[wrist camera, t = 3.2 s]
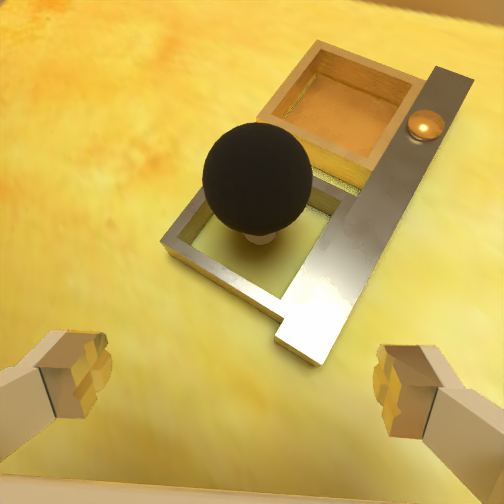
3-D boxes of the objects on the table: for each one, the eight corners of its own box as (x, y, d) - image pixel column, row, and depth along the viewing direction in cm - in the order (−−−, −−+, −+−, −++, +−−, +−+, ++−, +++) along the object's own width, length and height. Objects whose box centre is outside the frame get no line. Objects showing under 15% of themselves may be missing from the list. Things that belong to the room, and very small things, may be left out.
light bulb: (316, 229, 24) (346, 136, 15) (265, 288, 23) (262, 226, 14) (256, 186, 26) (249, 77, 17) (204, 239, 24) (165, 153, 15)
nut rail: (160, 267, 24) (143, 250, 21) (319, 57, 31) (325, 20, 27) (315, 366, 21) (323, 364, 18) (453, 110, 28) (477, 75, 24)
